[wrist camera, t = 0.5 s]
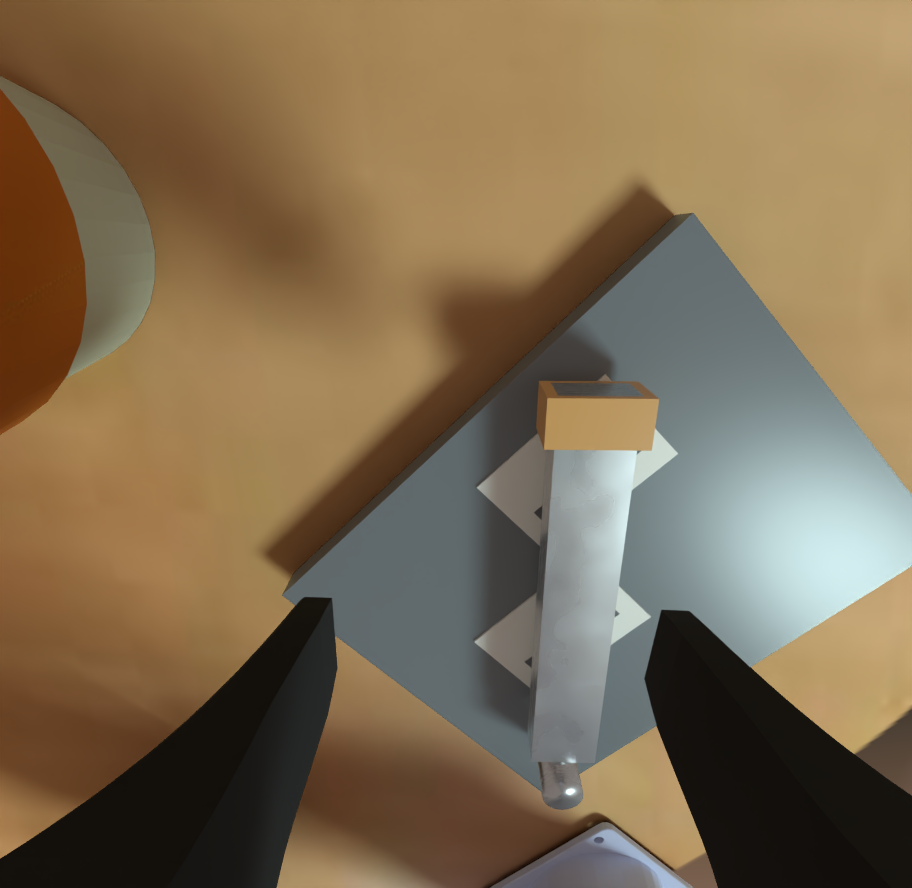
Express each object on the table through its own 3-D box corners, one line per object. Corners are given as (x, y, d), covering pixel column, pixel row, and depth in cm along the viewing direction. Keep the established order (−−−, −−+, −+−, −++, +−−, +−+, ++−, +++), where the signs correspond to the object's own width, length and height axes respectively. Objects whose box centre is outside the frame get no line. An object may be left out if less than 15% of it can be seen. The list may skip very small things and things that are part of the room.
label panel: (541, 765, 26) (555, 865, 22) (293, 573, 23) (253, 649, 18) (916, 522, 21) (1028, 592, 17) (674, 215, 17) (741, 207, 13)
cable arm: (593, 725, 22) (605, 769, 21) (518, 723, 22) (523, 767, 21) (638, 381, 17) (659, 399, 15) (539, 380, 17) (547, 398, 15)
